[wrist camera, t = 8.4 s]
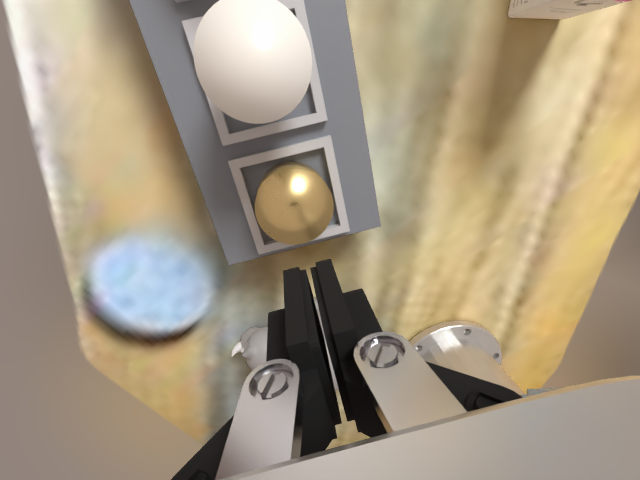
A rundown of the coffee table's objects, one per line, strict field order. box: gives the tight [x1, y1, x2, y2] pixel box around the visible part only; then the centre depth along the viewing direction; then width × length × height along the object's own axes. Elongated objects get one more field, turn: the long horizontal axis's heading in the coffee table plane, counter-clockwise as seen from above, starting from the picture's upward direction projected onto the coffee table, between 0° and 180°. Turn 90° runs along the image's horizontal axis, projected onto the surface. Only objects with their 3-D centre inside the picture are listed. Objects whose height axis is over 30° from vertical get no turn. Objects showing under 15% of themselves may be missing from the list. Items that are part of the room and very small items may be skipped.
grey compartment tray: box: [129, 0, 381, 265], centre depth 23 cm, size 24×12×6 cm, turn 13°
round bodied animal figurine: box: [232, 297, 339, 391], centre depth 31 cm, size 7×12×8 cm, turn 100°
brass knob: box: [255, 161, 334, 245], centre depth 23 cm, size 5×5×3 cm
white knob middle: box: [193, 0, 312, 124], centre depth 16 cm, size 5×5×4 cm
